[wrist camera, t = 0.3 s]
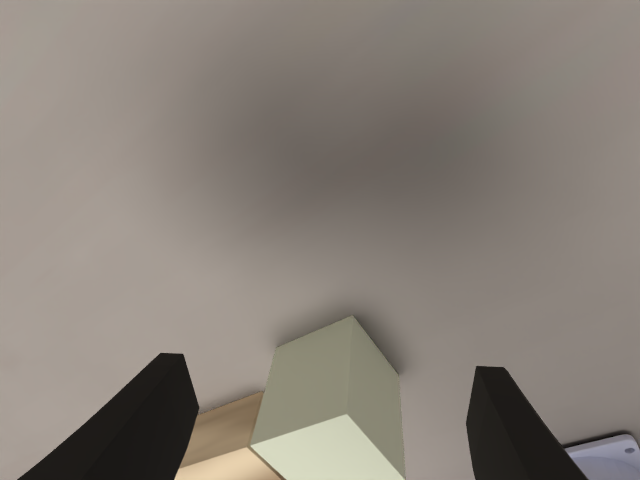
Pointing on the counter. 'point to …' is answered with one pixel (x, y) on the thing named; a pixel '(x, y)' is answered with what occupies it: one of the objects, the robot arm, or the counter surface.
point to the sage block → (332, 409)
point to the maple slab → (226, 445)
